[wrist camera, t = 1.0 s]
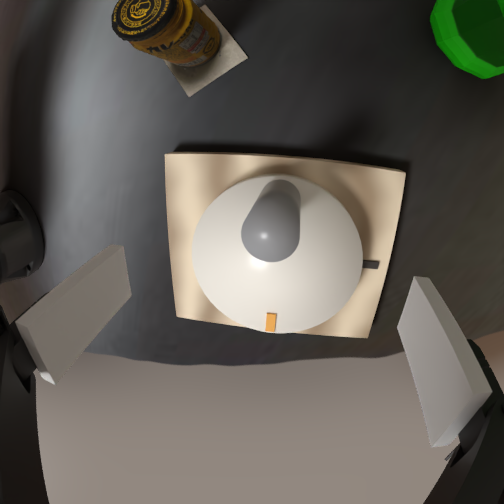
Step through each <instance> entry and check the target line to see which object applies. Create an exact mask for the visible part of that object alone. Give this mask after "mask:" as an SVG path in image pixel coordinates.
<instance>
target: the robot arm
mask: <svg viewBox="0 0 504 504" xmlns="http://www.w3.org/2000/svg"><path fill="white" fill-rule="evenodd" d="M43 255H44V244H43V237H42V233H41V229H40V225H39V223H38V220H37V218H36V215H35V213H34V211H33V209H32V208H31V206H30V204H29V203H28V202H27V200H26V199H25V198H24V197H23V196H22V195H21V194H19V193H18V192H16V191H13V190H7V191H5V192H2V193H0V284H1V283H4V282H8V281H12V280H16V279H20V278H25V277H27V276H29V275H31V274H32V273H34V272H35V271H36V270H38V269H39V267H40V266H41V264H42V261H43ZM131 296H132V295H131V289H130V284H129V278H128V272H127V266H126V260H125V253H124V246H120V245H109V246H108V247H107V248H105V249H104V250H102V251H101V252H100V253H98V254H97V255H96V256H94V257H93V258H92V259H91V260H89V261H88V262H87V263H85V264H84V265H83V266H81V267H80V268H79V269H78V270H76V271H75V272H74V273H72V274H71V275H70V276H69V277H67V278H66V279H65V280H64V281H62V282H61V283H60V284H59V285H57V286H56V287H55V288H54V289H53V290H51V291H50V292H48V293H46V294H44V295H43V296H42V297H41V298H40V299H38V301H37V302H35V303H34V304H33V305H31V307H29V308H28V309H27V310H26V311H24V312H23V313H22V314H21V315H20V316H19V317H18V318H17V319H15V320H14V321H13V322H12V323H11V324H10V325H9V323H8V321H7V318H6V316H5V313H4V311H3V308H2V307H1V305H0V504H49V501H48V496H47V491H46V487H45V481H44V477H43V470H42V463H41V457H40V450H39V440H38V429H37V414H36V379H35V375H34V373H33V371H34V370H35V369H36V368H37V369H38V371H39V372H40V374H41V376H42V378H43V379H45V380H47V381H49V382H50V383H53V384H54V385H56V384H57V383H58V382H59V380H60V379H61V378H62V377H63V375H64V374H65V373H66V372H67V370H68V369H69V368H70V367H71V365H72V364H73V363H74V362H75V361H76V359H77V358H78V357H79V356H80V354H81V353H82V352H83V351H84V350H85V349H86V347H87V346H88V345H89V344H90V343H91V341H92V340H93V339H94V338H95V337H96V336H97V334H98V333H99V332H100V331H101V330H102V329H103V327H104V326H105V325H106V324H107V323H108V322H109V320H110V319H111V318H112V317H113V316H114V315H115V314H116V312H117V311H118V310H119V309H120V308H121V307H122V306H123V305H124V303H125V302H126V301H127V300H128V299H129V298H130V297H131ZM397 329H398V332H399V335H400V338H401V341H402V344H403V347H404V350H405V353H406V356H407V359H408V362H409V365H410V369H411V372H412V375H413V379H414V382H415V386H416V389H417V392H418V396H419V400H420V404H421V408H422V412H423V416H424V419H425V423H426V428H427V432H428V437H429V441H430V446H431V447H438V446H445V445H449V444H450V443H451V442H452V441H453V440H454V439H455V438H456V437H457V435H458V436H459V439H460V444H459V445H458V446H457V447H456V448H455V449H454V450H453V451H452V452H451V453H450V454H449V455H448V456H447V457H446V458H445V460H446V461H447V460H448V459H449V458H450V457H451V458H450V460H449V462H448V464H447V466H446V467H445V469H444V471H443V473H442V474H441V476H440V478H439V479H438V482H437V483H436V485H435V486H434V488H433V490H432V491H431V492H430V494H429V496H428V497H427V499H426V500H425V502H424V503H423V504H504V394H503V392H502V390H501V388H500V386H499V383H498V381H497V380H496V377H495V375H494V373H493V372H492V369H491V368H489V364H488V362H487V360H485V356H484V354H483V352H482V351H481V349H480V348H479V346H477V345H476V344H475V343H474V342H473V341H472V340H471V339H466V338H465V336H464V334H463V333H462V331H461V329H460V327H459V326H458V324H457V322H456V321H455V319H454V317H453V315H452V314H451V312H450V310H449V309H448V307H447V306H446V304H445V302H444V301H443V299H442V298H441V296H440V294H439V293H438V291H437V290H436V288H435V287H434V285H433V284H432V282H431V281H430V279H429V278H426V277H415V276H414V278H413V281H412V284H411V288H410V291H409V294H408V297H407V300H406V303H405V306H404V309H403V312H402V315H401V318H400V321H399V324H398V326H397Z"/></svg>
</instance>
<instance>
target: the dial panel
mask: <svg viewBox="0 0 504 504" xmlns="http://www.w3.org/2000/svg"><path fill="white" fill-rule="evenodd" d="M263 174H289V175H295V176H299V177H302V178H306V179H308V180H310V181H313V182H315V183H317V184H319V185H320V186H322V187H324V188H325V189H327V190H328V191H329V192H330V193H332V194H333V195H334V196H335V197H336V198H337V199H338V200H339V201H340V202H341V203H342V204H343V205H344V207H345V208H346V210H347V211H348V213H349V214H350V216H351V218H352V220H353V222H354V224H355V226H356V228H357V231H358V233H359V237H360V240H361V245H362V251H363V264H362V271H361V276H360V279H359V282H358V285H357V287H356V289H355V291H354V293H353V295H352V296H351V298H350V299H349V301H348V302H347V303H346V304H345V306H344V307H343V308H342V309H341V310H340V311H339V312H337V313H336V314H335V315H334V316H332V317H331V318H330V319H328V320H327V321H325V322H323V323H321V324H319V325H317V326H315V327H312V328H310V329H306V330H302V331H298V332H294V333H304V334H315V335H327V336H341V337H357V338H368V335H369V332H370V328H371V325H372V322H373V319H374V316H375V312H376V309H377V306H378V302H379V299H380V295H381V291H382V288H383V284H384V280H385V276H386V273H387V269H388V264H389V260H390V256H391V252H392V247H393V243H394V238H395V233H396V228H397V223H398V218H399V213H400V207H401V201H402V195H403V189H404V183H405V176H406V173H405V172H403V171H401V170H398V169H392V168H386V167H380V166H373V165H367V164H359V163H352V162H344V161H336V160H327V159H318V158H308V157H297V156H285V155H271V154H254V153H230V152H171V153H167V154H165V179H166V202H167V220H168V234H169V247H170V259H171V270H172V280H173V289H174V298H175V306H176V315H177V317H182V318H188V319H194V320H200V321H207V322H213V323H220V324H227V325H234V326H242V327H246V326H243V325H241V324H239V323H237V322H235V321H233V320H232V319H230V318H229V317H227V316H226V315H224V314H223V313H222V312H221V311H219V310H218V309H217V308H216V307H215V306H214V305H213V304H212V303H211V302H210V300H209V299H208V298H207V296H206V295H205V294H204V292H203V290H202V289H201V287H200V285H199V283H198V281H197V278H196V276H195V272H194V268H193V263H192V242H193V236H194V233H195V229H196V226H197V224H198V222H199V220H200V218H201V216H202V215H203V213H204V212H205V210H206V209H207V207H208V206H209V205H210V204H211V203H212V202H213V201H214V200H215V199H216V198H217V197H218V196H219V195H220V194H222V193H223V192H224V191H225V190H227V189H228V188H229V187H231V186H233V185H234V184H236V183H238V182H240V181H242V180H245V179H247V178H250V177H254V176H257V175H263Z"/></svg>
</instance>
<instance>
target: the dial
mask: <svg viewBox="0 0 504 504" xmlns="http://www.w3.org/2000/svg"><path fill="white" fill-rule="evenodd" d="M192 263H193V268H194V272H195V276H196V278H197V281H198V283H199V285H200V287H201V289H202V290H203V292H204V294H205V295H206V296H207V298H208V299H209V300H210V302H211V303H212V304H213V305H214V306H215V307H216V308H217V309H218V310H219V311H221V312H222V313H223V314H224V315H226V316H227V317H229V318H230V319H232V320H233V321H235V322H237V323H239V324H241V325H243V326H246V327H248V328H251V329H255V330H258V331H263V332H269V333H291V332H298V331H302V330H306V329H310V328H312V327H315V326H317V325H319V324H321V323H323V322H325V321H327V320H328V319H330V318H331V317H332V316H334V315H335V314H336V313H337V312H339V311H340V310H341V309H342V308H343V307H344V306H345V304H346V303H347V302H348V301H349V299H350V298H351V296H352V295H353V293H354V291H355V289H356V287H357V285H358V282H359V279H360V276H361V271H362V264H363V251H362V245H361V240H360V237H359V233H358V231H357V228H356V226H355V224H354V222H353V220H352V218H351V216H350V214H349V213H348V211H347V210H346V208H345V207H344V205H343V204H342V203H341V202H340V201H339V200H338V199H337V198H336V197H335V196H334V195H333V194H332V193H330V192H329V191H328V190H327V189H325V188H324V187H322V186H320V185H319V184H317V183H315V182H313V181H310V180H308V179H306V178H302V177H299V176H295V175H289V174H263V175H257V176H254V177H250V178H247V179H245V180H242V181H240V182H238V183H236V184H234V185H233V186H231V187H229V188H228V189H227V190H225V191H224V192H223V193H222V194H220V195H219V196H218V197H217V198H216V199H215V200H214V201H213V202H212V203H211V204H210V205H209V206H208V207H207V209H206V210H205V212H204V213H203V215H202V216H201V218H200V220H199V222H198V224H197V226H196V229H195V233H194V236H193V242H192Z"/></svg>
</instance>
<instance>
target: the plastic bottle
mask: <svg viewBox="0 0 504 504" xmlns="http://www.w3.org/2000/svg"><path fill="white" fill-rule="evenodd" d="M430 23H431V27H432V30H433V33H434V37H435V40H436V44H437V46H438V47H439V48H440V49H441V50H442V51H443V52H444V54H445V55H446V56H447V57H448V58H449V60H450V61H451V62H452V63H453V64H454V66H456V67H458V68H460V69H462V70H464V71H467V72H469V73H471V74H473V75H475V76H477V77H479V78H481V79H486V78H490V77H493V76H496V75H499V74H502V73H504V0H436V3H435V5H434V8H433V10H432V13H431V15H430Z"/></svg>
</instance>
